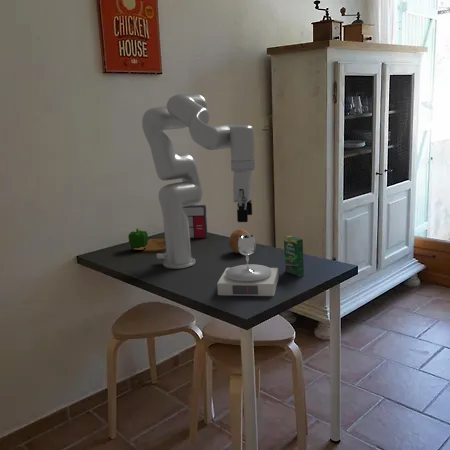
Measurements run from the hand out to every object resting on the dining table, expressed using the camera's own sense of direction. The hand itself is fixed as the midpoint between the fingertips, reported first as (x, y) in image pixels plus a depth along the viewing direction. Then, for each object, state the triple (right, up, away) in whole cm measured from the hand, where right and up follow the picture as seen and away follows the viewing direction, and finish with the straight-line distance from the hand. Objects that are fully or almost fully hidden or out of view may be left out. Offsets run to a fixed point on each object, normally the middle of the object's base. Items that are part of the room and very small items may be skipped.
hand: (245, 218), depth 166 cm
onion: (0, -14, +44) cm, 46 cm away
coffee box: (+18, -19, +16) cm, 31 cm away
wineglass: (+1, -18, +4) cm, 18 cm away
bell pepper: (-44, -13, +58) cm, 74 cm away
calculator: (-20, -8, +73) cm, 76 cm away
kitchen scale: (+2, -23, +5) cm, 23 cm away
